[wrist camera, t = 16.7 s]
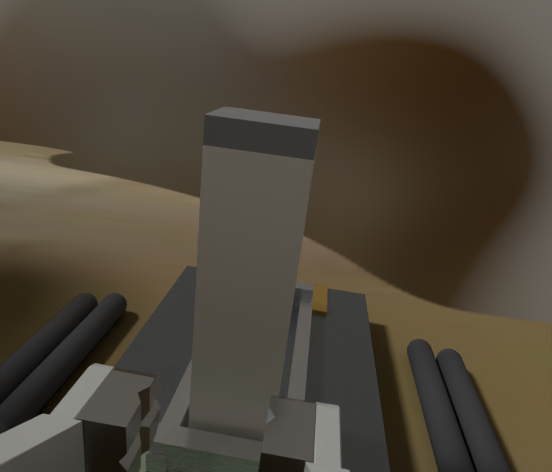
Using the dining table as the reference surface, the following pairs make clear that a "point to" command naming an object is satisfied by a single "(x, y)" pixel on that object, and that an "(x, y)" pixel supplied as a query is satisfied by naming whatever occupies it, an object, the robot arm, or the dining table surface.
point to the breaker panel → (294, 384)
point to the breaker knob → (247, 263)
